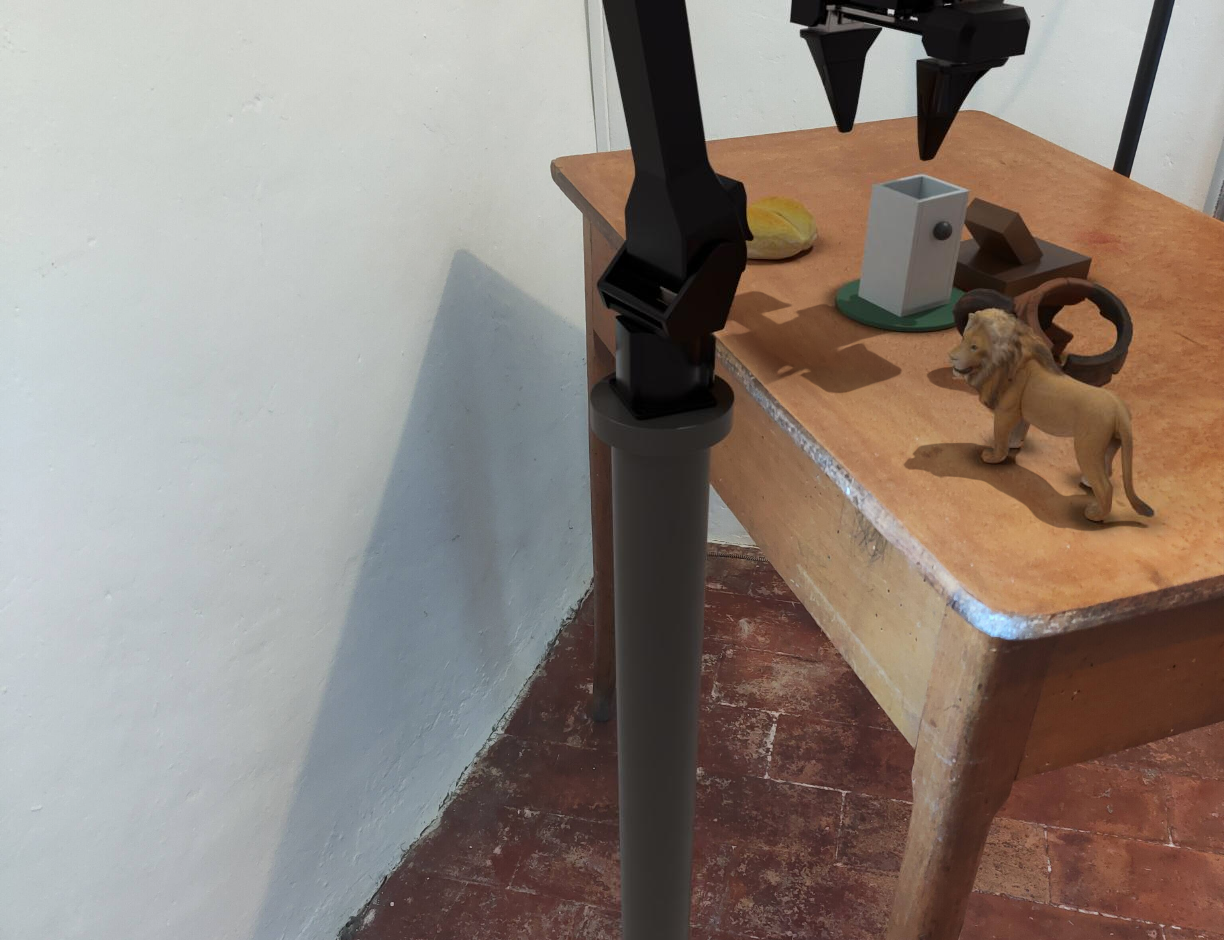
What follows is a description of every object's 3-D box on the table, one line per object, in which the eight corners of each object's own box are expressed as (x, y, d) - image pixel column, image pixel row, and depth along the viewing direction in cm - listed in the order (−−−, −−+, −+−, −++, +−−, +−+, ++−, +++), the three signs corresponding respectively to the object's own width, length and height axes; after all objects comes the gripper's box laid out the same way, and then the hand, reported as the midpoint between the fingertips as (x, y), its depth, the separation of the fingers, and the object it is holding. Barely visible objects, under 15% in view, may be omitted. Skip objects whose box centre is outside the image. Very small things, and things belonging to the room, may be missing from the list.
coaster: (880, 340, 82) (881, 336, 82) (812, 290, 90) (812, 286, 90) (1000, 319, 85) (1001, 314, 85) (924, 272, 93) (924, 267, 93)
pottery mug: (1098, 359, 80) (1157, 288, 72) (1071, 460, 76) (1131, 397, 69) (946, 304, 81) (989, 228, 73) (913, 402, 77) (954, 333, 70)
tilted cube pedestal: (1001, 305, 87) (1019, 225, 83) (924, 271, 93) (937, 195, 89) (1086, 281, 91) (1107, 202, 87) (1007, 250, 97) (1023, 175, 93)
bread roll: (701, 247, 99) (702, 204, 96) (764, 224, 104) (767, 182, 101) (769, 270, 94) (772, 224, 92) (832, 245, 99) (836, 201, 96)
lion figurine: (918, 444, 70) (942, 312, 64) (967, 418, 72) (994, 289, 67) (1127, 540, 60) (1176, 396, 55) (1175, 507, 63) (1226, 366, 57)
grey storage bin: (874, 277, 79) (961, 163, 78) (812, 248, 84) (893, 141, 83) (929, 345, 86) (1010, 242, 85) (869, 314, 91) (944, 216, 90)
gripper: (1117, -101, 67) (1056, 159, 77) (914, -118, 80) (884, 106, 90) (987, -90, 63) (940, 183, 72) (795, -110, 76) (777, 124, 85)
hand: (884, 145), depth 80 cm, fingers open, 9 cm apart
